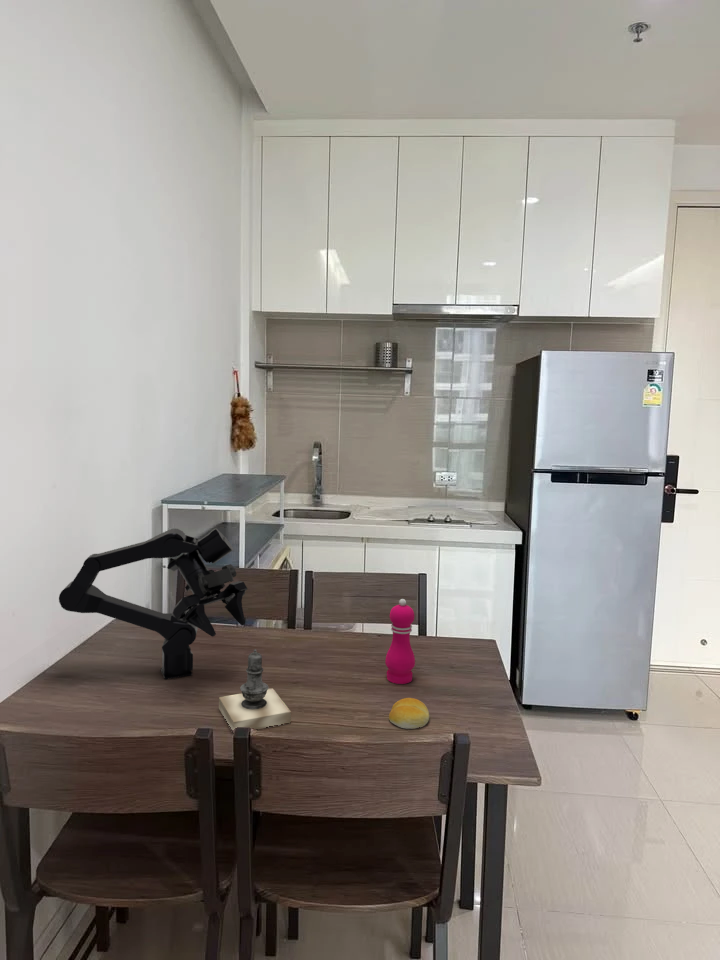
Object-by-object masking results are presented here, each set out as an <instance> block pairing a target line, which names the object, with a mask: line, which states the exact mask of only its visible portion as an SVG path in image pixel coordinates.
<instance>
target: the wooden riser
mask: <svg viewBox="0 0 720 960" xmlns="http://www.w3.org/2000/svg"><path fill="white" fill-rule="evenodd" d="M263 699H264V700H266V702H267V704H266V706H265V707H263V708H260V709H246V708H244V707H242V705H241V703H242V701H244V700H245V698H244V697H243V695H242V692H241V693H236V694H231V695H230V694H229V695H225V696H220V697H218V710H219V711H220V713H221V715H222V716H224V717H223V719H224V720H225V719H226V720H225V722H226V721H227V722H226V723H228V724H229V725H228V724H227V725H228V727H229V726H230V727H231V729H232V730H234V729H235V728H237V727H250V728H254V729H258V730H262V729H266V727H268V728H270V727H269V726H273V727H275V726H274V725H278V726H282V725H281V724H283V725H285V724H284V723H289V724H291V723H290V722H292V711H291V710H290V708H288V706H287V705H286V704H285V702H284V701H283V700H282V697H280V696H279V694H278V693H277V692H276V690H275V689H274V688H268V690H267V693H266V695H265V697H264V698H263ZM230 727H229V728H230ZM231 729H230V730H231Z"/></svg>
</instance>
